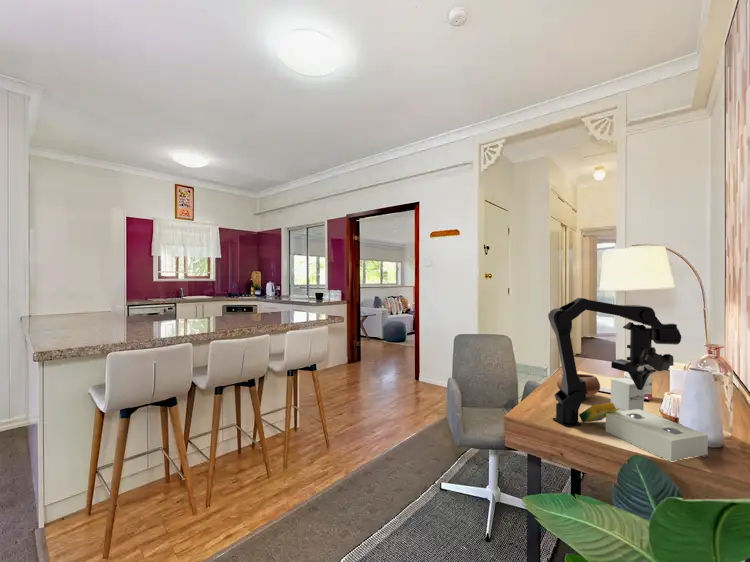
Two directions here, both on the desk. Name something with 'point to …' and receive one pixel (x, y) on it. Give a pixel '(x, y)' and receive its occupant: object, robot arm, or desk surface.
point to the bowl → (590, 381)
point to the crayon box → (597, 412)
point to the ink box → (646, 387)
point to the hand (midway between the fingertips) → (639, 389)
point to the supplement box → (626, 395)
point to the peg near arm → (635, 416)
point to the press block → (657, 435)
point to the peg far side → (672, 430)
